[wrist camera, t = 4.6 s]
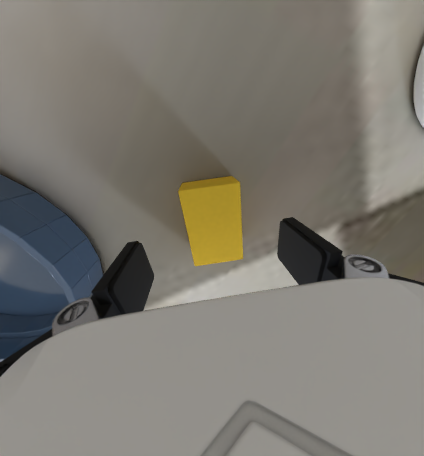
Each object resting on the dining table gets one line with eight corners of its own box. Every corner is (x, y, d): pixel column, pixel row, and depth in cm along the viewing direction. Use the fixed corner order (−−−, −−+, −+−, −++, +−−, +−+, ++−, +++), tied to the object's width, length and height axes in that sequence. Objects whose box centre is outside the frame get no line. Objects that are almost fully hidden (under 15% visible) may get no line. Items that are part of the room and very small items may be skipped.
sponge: (181, 182, 14) (177, 190, 11) (232, 175, 14) (240, 182, 11) (195, 248, 17) (194, 266, 14) (236, 242, 17) (243, 259, 14)
